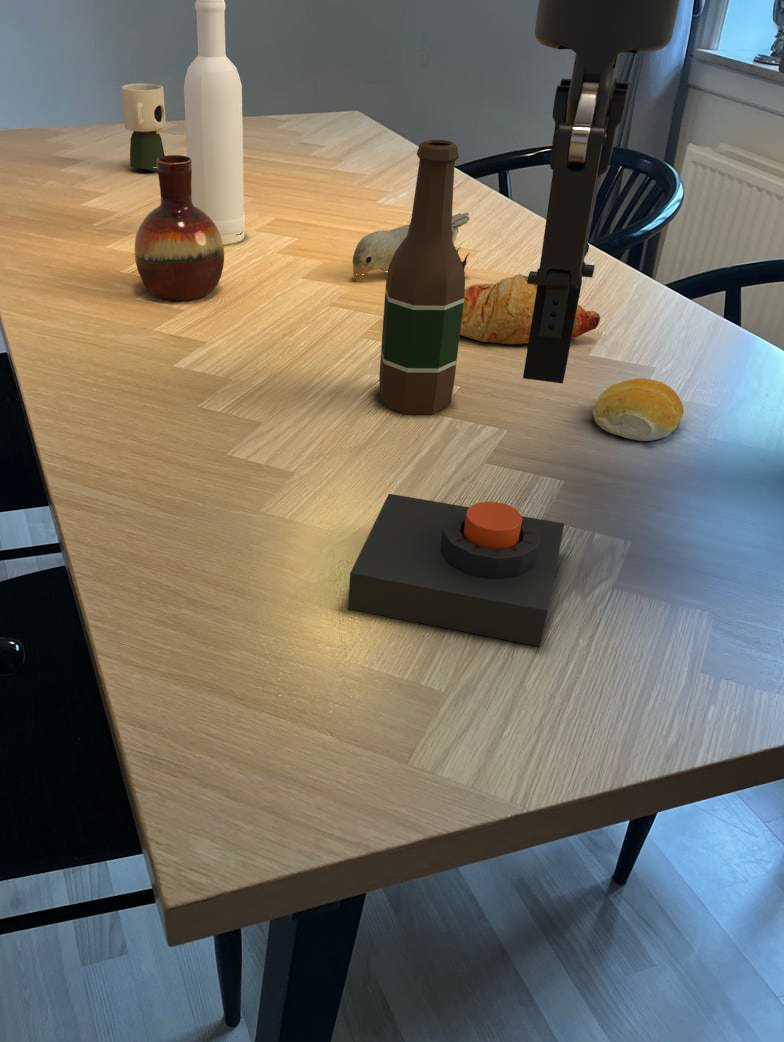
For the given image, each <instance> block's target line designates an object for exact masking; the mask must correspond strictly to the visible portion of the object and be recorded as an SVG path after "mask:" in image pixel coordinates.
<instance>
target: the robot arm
mask: <svg viewBox="0 0 784 1042" xmlns="http://www.w3.org/2000/svg"><path fill="white" fill-rule="evenodd" d="M680 1H681V0H538V4H537V12H536V19H535V26H534V36H535V39H536V41H537V42H538V43H539V44H540V45H543V46H545V47H548V48H551V49H555V50H571V51H573V53H575V58H574V63H573V67H572V73H571V78H563V77H561V80H560V84H559V85H557V86H556V88H555V89H556V90H555V95H554V101H553V107H552V119H553V122H554V130H553V135H552V136H553V137H552V143H551V151H550V156H549V167H550V169H551V170H552V175H551V183H550V191H549V197H548V204H547V213H546V217H545V218H546V219H545V226H544V232H543V233H544V234H543V240H542V248H541V255H540V262H539V267H538V268H537V270H536V271H532V270H530V271H529V273H528V280H527V284H533V285H537V291H536V298H535V304H534V310H533V317H532V323H531V329H530V336H529V342H528V343H527V350H526V354H525V355H526V356H525V362H524V369H523V376H522V379H524V380H533V381H540V382H548V383H554V384H555V383H556V384H563V383H564V380H565V376H566V371H567V365H568V359H569V354H570V349H571V343H572V339H573V338H572V333H573V328H574V322H575V317H576V312H577V306H578V305H579V301H580V294H581V289H582V284H583V280H582V279H583V278H590V279H593V278H594V277H593V276H594V273H595V267H596V264H587V263H586V262H585V259H586V257H587V254H588V253H589V250H590V244H589V239H590V233H591V229H592V228H591V227H592V222H593V217H594V211H595V207H596V201H597V196H598V192H599V185H600V182H601V181H600V180H601V175H603V174H605V173H606V172H607V171H608V169H609V166H610V164H611V163H610V162H611V158H612V154H613V150H614V145H615V139H616V135H617V129H618V126H619V125H620V124H621V122H622V121H623V118H624V117H623V116H624V113H625V108H626V104H627V100H628V94H629V90H630V89H629V88H630V83H631V82H627V81H626V82H625V81H618V78H617V76H618V72H619V65H620V61H621V54H622V53H630V54H647V53H654V52H658V51H660V50H663V49H664V48H665V47H667V46H668V45H669V44H670V42H671V41H672V38H673V35H674V29H675V26H676V25H675V23H676V21H677V17H678V16H677V15H678V10H679V6H680Z"/></svg>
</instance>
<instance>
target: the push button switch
mask: <svg viewBox="0 0 784 1042" xmlns="http://www.w3.org/2000/svg"><path fill="white" fill-rule="evenodd" d="M470 507H471V506H464V505H458V504H453V503H447V502H441V501H436V500H429V499H423V498H417V497H411V496H405V495H401V494H400V495H399V494H393V493H388V495H387V496H386V498H385V501H384V503H383V505H382V507H381V509H380V510H379V513H378V515H377V517H376V519H375V521H374V523H373V526H372V527H371V530H370V532H369V534H368V535H367V538H366V540H365V542H364V544H363V546H362V548H361V550H360V552H359V554H358V556H357V558H356V560H355V563H354V565H353V566H352V569H351V571H350V573H349V587H348V600H347V601H348V605H347V608H348V609H349V610H353V611H357V612H362V613H369V614H372V615H379V616H383V617H389V618H393V619H399V620H404V621H407V622H408V621H409V622H413V623H419V624H424V625H428V626H433V627H438V628H442V629H443V628H444V629H448V630H453V631H459V632H463V633H469V634H474V635H479V636H482V637H483V636H484V637H488V638H495V639H499V640H504V641H509V642H514V643H520V644H523V645H524V644H525V645H528V646H529V645H530V646H534V647H541V644H542V640H543V635H544V631H545V625H546V621H547V618H548V617H547V616H548V613H549V607H550V602H551V596H552V590H553V586H554V580H555V577H556V576H555V575H556V570H557V565H558V561H559V554H560V549H561V545H562V544H561V543H562V539H563V534H564V529H565V523H564V522H560V521H553V520H547V519H542V518H535V517H530V516H524V515H521V516H522V524H521V529H520V535H519V540H518V542H517V544H516V545H514V546H513V547H509V548H500V549H494V548H488V547H482V546H478V545H476V544H474V543H472V542H470V541H468V540H466V539H465V537H464V526H465V519H466V512H467V510H468V509H469V508H470Z"/></svg>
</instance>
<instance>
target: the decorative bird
mask: <svg viewBox="0 0 784 1042" xmlns="http://www.w3.org/2000/svg"><path fill="white" fill-rule="evenodd" d="M469 215H470V213H469V212H464V213H457V214H454V215H453V214H452V241H453V244H454V245H455V242H456V239H457V236H458V234H459V228H461V227H463V226H465V225H466V224H468V222H469V221H470V216H469ZM409 226H410V223H409V224H405V225H402V226H397V227H396V228H393V229H390V230H377V231H373V232H371V233H368V234H366V235H365V236H363V237H362V238H361V239H360V241H359V242H358V243H357V245H356V247H355V250H354V252H353V256H352V265H353V267H352V268H353V269H352V271H353V278H354V281H355V282H357V281H358V280H360V279H361V278H362V277H364V276H366V275H367V274H368V273H369V272H371V271H374V270H381V271H382V272H384V273H386V274H388V272H385V271H388V267H389V265H390V263H391V260H392V258H393V256H394V253H395V251H396V250H397V249H398V247H399V246H400V245H401V243H402V242H403V241H404V239H405V238H406V237H407V234H408V230H409ZM460 249H461V246H459V247H458V248H456V250H457V252H458V253H459V250H460ZM469 255H470V252H469V253H467V254H466V256H464V259H463V260H462V266H463V270H464V275H466V273H465V267H466V266H467V263H468V262H467V259H468V256H469ZM366 273H367V274H366ZM356 274H357V275H356ZM362 274H364V275H362Z"/></svg>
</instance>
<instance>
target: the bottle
mask: <svg viewBox="0 0 784 1042" xmlns="http://www.w3.org/2000/svg"><path fill="white" fill-rule="evenodd" d="M226 8H227V7H226V1H225V0H195V2H194V9H195V11H196V12H195V13H196V14H195V15H196V34H197V35H196V36H197V39H196V40H197V56H196V57H195V58H194V59H193V61H192V62H190V63H191V64H189V66H188V67H187V70H186V73H185V78H184V84H183V99H184V100H183V101H184V118H185V119H184V120H185V121H184V122H185V137H186V139H185V140H186V156H187V157H189V158H191V160H192V178H191V191H192V202H193V205H194V206H196V207H198V208H200V209H201V210H202V211H204V212H205V213H206V214H207V215H208V216H209V217H210V218H211V219H212V220H213V222H214V223H215V224H216V226H217V228H218V230H219V232H220V234H221V237H228V236H234V235H236V234H240V233H241V232H242V231H244V232H243V233H242V234H241V235H238V236H234V237H229V238H222V241H223V246H227V245H232V244H236V243H239V242H241V241H242V240H244V238H245V226H246V216H245V194H244V193H245V190H244V189H245V187H244V186H245V185H244V134H243V133H244V131H243V129H244V128H243V85H242V82H241V78H240V74H239V71H238V68H237V67H236V65H235V64H234V63H233V62H232V61H231V59H229V57H228V56H227V55H226V52H227V51H226V20H225V19H226V17H225V14H226V13H225V11H226Z"/></svg>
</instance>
